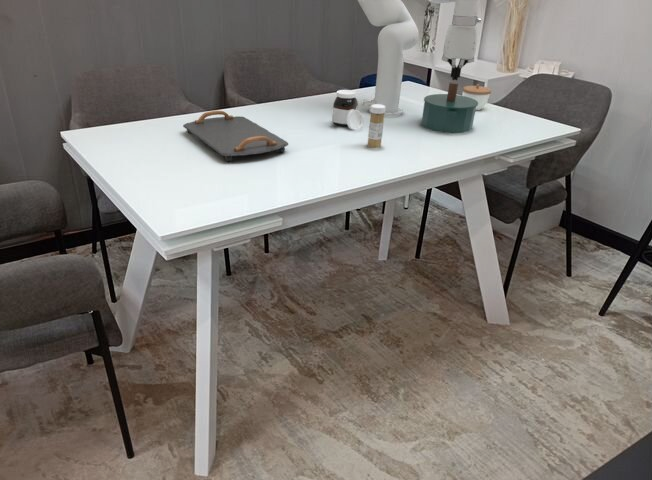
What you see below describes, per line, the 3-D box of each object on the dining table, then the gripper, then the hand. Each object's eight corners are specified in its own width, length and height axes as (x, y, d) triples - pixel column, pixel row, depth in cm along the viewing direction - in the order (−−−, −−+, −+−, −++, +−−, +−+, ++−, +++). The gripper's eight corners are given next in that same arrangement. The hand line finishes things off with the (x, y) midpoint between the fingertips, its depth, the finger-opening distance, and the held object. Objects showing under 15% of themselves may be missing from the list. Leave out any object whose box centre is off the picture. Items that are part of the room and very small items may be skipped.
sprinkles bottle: (375, 144, 179) (380, 103, 172) (383, 149, 176) (388, 106, 169) (364, 146, 178) (368, 104, 171) (371, 150, 174) (376, 108, 167)
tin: (422, 134, 190) (426, 108, 185) (420, 116, 209) (423, 92, 204) (474, 138, 187) (480, 112, 183) (467, 119, 207) (472, 95, 202)
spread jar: (339, 120, 202) (341, 87, 196) (368, 124, 198) (371, 91, 192) (326, 128, 193) (328, 94, 187) (357, 133, 189) (360, 99, 183)
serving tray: (179, 130, 187) (177, 112, 184) (240, 121, 197) (239, 104, 194) (226, 167, 159) (226, 146, 155) (295, 154, 169) (295, 135, 166)
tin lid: (424, 108, 187) (427, 87, 183) (422, 95, 203) (425, 75, 199) (480, 112, 185) (485, 91, 181) (474, 98, 200) (478, 78, 197)
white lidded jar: (454, 105, 224) (459, 81, 219) (478, 104, 227) (482, 81, 222) (468, 112, 215) (472, 88, 211) (492, 111, 218) (497, 87, 213)
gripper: (486, 21, 182) (475, 78, 192) (440, 19, 184) (432, 76, 194) (489, 24, 176) (478, 83, 185) (441, 22, 178) (433, 80, 187)
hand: (454, 79), depth 189 cm, fingers closed
